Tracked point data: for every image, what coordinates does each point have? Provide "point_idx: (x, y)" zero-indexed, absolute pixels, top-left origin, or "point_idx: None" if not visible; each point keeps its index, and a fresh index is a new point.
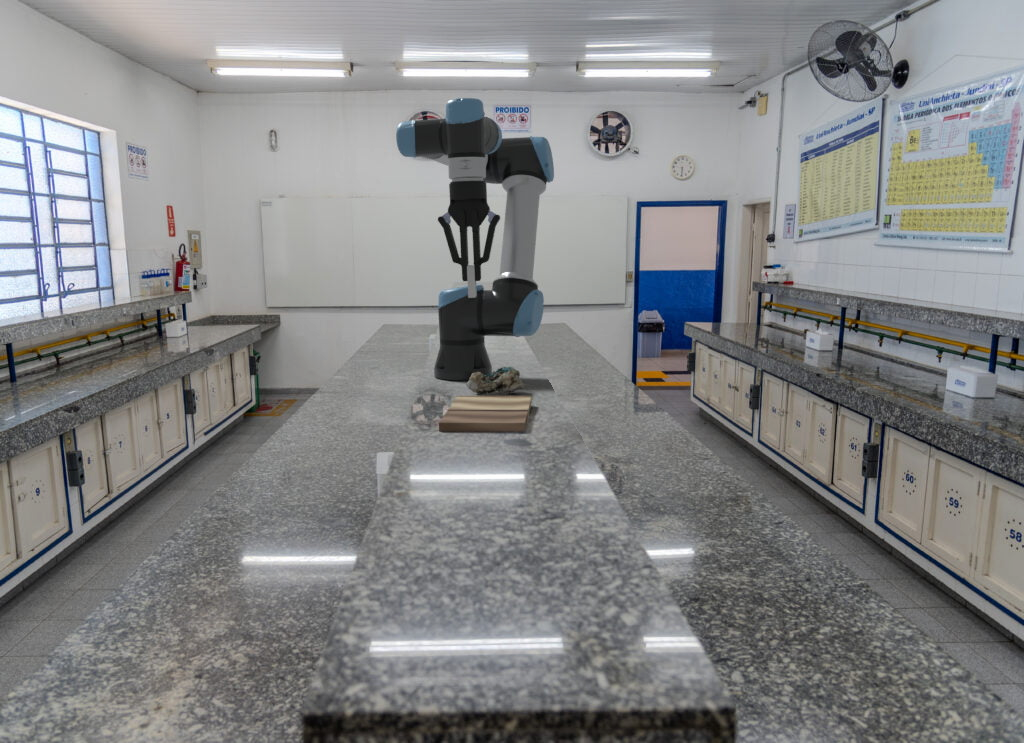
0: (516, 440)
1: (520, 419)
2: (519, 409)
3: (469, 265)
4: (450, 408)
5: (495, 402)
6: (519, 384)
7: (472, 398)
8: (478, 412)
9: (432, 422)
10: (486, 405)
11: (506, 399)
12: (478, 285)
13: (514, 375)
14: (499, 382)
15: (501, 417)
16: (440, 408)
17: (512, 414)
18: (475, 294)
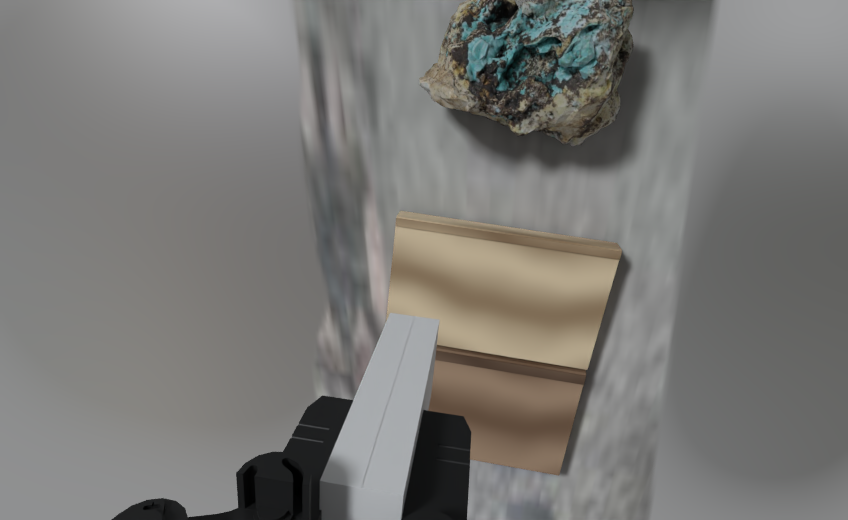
0: (531, 509)
1: (553, 448)
2: (564, 364)
3: (335, 511)
4: None
5: (507, 296)
6: (607, 123)
7: (443, 248)
8: (459, 375)
9: (354, 363)
10: (481, 318)
11: (541, 273)
12: None
13: (599, 105)
14: (536, 130)
15: (512, 426)
16: (358, 234)
17: (540, 406)
18: (430, 394)
